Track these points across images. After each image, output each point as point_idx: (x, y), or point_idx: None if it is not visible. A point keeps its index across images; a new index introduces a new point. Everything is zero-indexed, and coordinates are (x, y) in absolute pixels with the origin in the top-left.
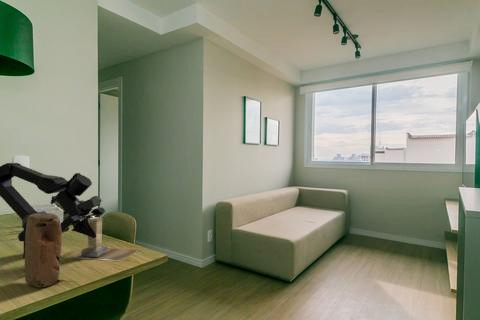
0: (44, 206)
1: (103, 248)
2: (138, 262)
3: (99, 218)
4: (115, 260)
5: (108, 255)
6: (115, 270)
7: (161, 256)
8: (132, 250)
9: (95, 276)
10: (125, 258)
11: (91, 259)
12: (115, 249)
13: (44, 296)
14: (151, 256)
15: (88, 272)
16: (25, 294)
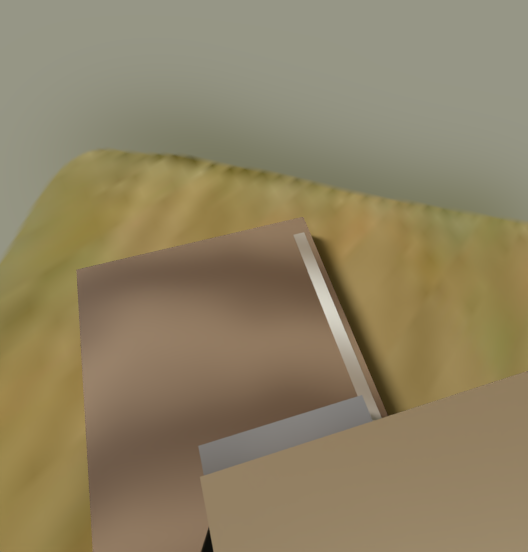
0: None
1: (265, 425)
2: (217, 193)
3: (424, 408)
4: (309, 255)
5: (260, 374)
6: (359, 218)
7: (95, 152)
8: (96, 296)
9: (467, 246)
10: (252, 230)
11: None
12: (112, 446)
13: None
14: (110, 191)
15: (468, 319)
16: None
